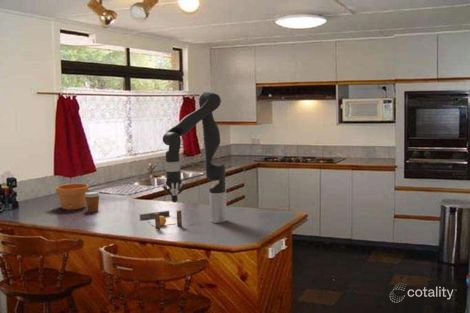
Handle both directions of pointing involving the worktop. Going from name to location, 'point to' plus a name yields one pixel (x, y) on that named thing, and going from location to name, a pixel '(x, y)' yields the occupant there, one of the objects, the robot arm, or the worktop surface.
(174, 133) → the robot arm
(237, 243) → the worktop surface
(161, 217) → the ball
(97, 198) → the disposable coffee cup
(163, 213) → the stopper wall
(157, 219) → the post
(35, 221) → the worktop surface
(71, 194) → the flower pot
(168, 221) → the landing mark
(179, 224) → the post
